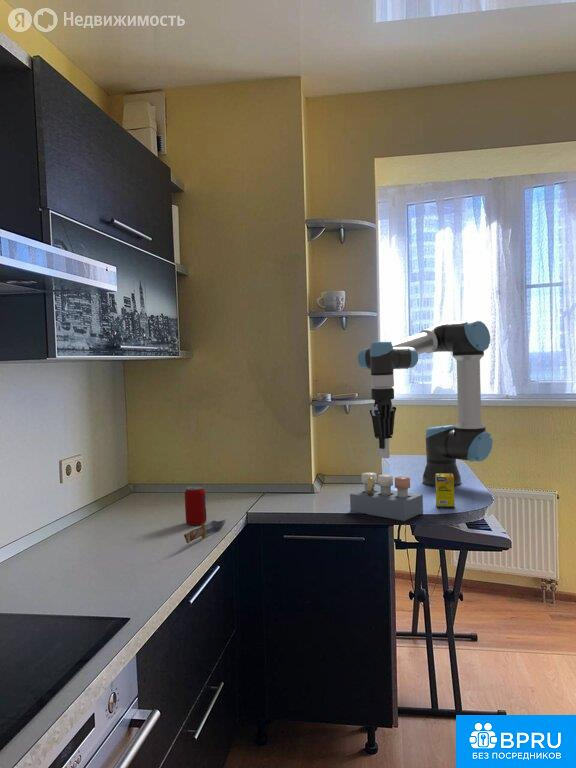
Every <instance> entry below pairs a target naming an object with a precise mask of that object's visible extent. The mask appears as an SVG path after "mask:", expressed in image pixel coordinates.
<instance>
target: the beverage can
mask: <svg viewBox="0 0 576 768" xmlns="http://www.w3.org/2000/svg"><path fill="white" fill-rule="evenodd" d="M206 496H207V495H206V490H205V488H204V486H203V485H190V486H189V485H188V486H186V489H185V491H184V506H185V507H184V509H185V512H184V513H185V522H186V524H188V525H190V526H201V524H205V523H206V522H207V520H208V519H207V499H206Z"/></svg>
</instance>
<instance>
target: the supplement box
mask: <svg viewBox="0 0 576 768" xmlns="http://www.w3.org/2000/svg"><path fill="white" fill-rule="evenodd" d="M435 479H436V486H435V504H436V509H456V508H455V485H454V476H453V474H435Z"/></svg>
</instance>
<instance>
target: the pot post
mask: <svg viewBox="0 0 576 768" xmlns="http://www.w3.org/2000/svg"><path fill="white" fill-rule="evenodd" d="M367 482H368V496H374V488H375V484H374V481H373V477H368V478H367Z"/></svg>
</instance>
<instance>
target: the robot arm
mask: <svg viewBox="0 0 576 768" xmlns="http://www.w3.org/2000/svg"><path fill="white" fill-rule="evenodd" d="M490 344H491V335H490V330H489V328H488V326H486V324H485V323H484V322H483V321H481V320H475V319H474V320H471V319H468V320H461V321H448V322H444V323H439V324H437V325H434V326H431V327H429V328H426V329H422V330H420V332H419V333H417V334H414V335H412V336H408V337H405V338H402V339H398V340H395V341H393V342H392V341H373V342H371V343H370V346H369V347H368V348H363V349H361V350H359V352H358V354H357V364H358V365H359V367H360V368H361V369H362V370H363V369H364V370H370V381H371V382H370V386H371V388H372V389H371V392H370V393H371V395H370V396H371V400H373V401H374V404H373V407H374V408H373V409H370V410H369V414H370V417H371V422H372V428H373V434H374V438H375V439H378V448H379V459H386V460H387V459H389V458H390V454H391V453H390V439H392V438H393V436H394V429H395V418H396V417H395V416H396V411H397V407H396V406H393V403H392V400H394V399H395V389H394V388H393V387H395V381H394V380H395V377H394V376H395V375H394V373H395V372H394V370H403V369H404V370H408V369H412V368H414V367H415V366H416V365H417V364H418V361H419V355H421V354H425V353H426V354H432V353H433V354H434V353H436V352H437V353H440V352H446V353H447V352H450V353H451V352H452V358H454V359H455V360H456V383H457V384H456V385H457V386H456V389H457V392H456V393H457V423H455V424H453V425H452V424H448V425H440V426H439V425H438V426H431V427H428V428H427V429H426V431H425V450H426V451H425V454H426V455H425V457H426V464H425V467H424V471H423V475H422V483H423V484H425V485H427V486H428V485H429V486H433V487H436V479H435V474H453V476H454V486H457V485H460V484H461V483H462V477H461V474H460V470H459V468H458V466H457V460H459V461H460V460H461V461H469V462H472V463H473V462H479V463H480V462H483V461H485V460H486V459H487V458H489V455H490V454H491V452H492V448H493V443H494V442H493V438H492V435H491V433H490V432H488V431H486V427H487V426H486V425H485V424H484V423H483V422H482V399H481V397H482V395H481V393H482V392H481V389H482V388H481V359H483V357H484V356H485V351H487V350H488V348H489V347H490Z"/></svg>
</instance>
